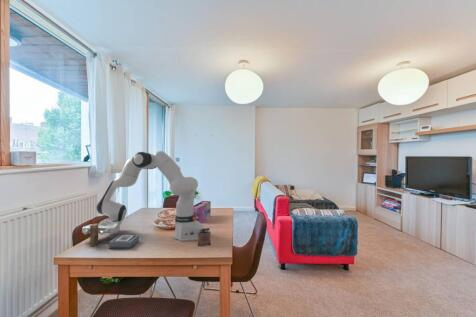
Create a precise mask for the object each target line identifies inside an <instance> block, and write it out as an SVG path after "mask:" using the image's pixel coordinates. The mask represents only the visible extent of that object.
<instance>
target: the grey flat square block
mask: <svg viewBox="0 0 476 317" xmlns="http://www.w3.org/2000/svg"><path fill="white" fill-rule="evenodd" d="M139 242H140V234H118V235H117V236H115V237H114V238H112V239H111V240H109V242H108V249H109V250H131V249H132V248H133V247H134V246H135V245H137V243H139Z"/></svg>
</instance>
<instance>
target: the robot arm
mask: <svg viewBox="0 0 476 317" xmlns="http://www.w3.org/2000/svg"><path fill="white" fill-rule="evenodd" d="M153 169H158V170H159V171H160V173H161V174H162V175H163V176H164V177H165V178H166V180H167V181H168V183H169V186H170V187H169V188H170V192H171V193H172V195H174V196H178V200H177V201H176V204H175V206H176V208H175V212H176V213H175V217H174V218H175V219H174V220H175V221H174V223H175V227H174V233H173V238H174V239H175V240H178V241H179V242H188V241H198V233H199V232H200V229H202V228H204V229H205V227H204V224H203V223H199V222H198V221H197V220H196V215H194V214H193V206H194V203H195V201H194V200H195V197H196V191H197V188H198V187H199V182H198V180H197V179H196V178H194V177H192V176H184V175H183V173H182V171H181V167H180V166H179V165H178V163H176V162H175V161H174V160H173V158H172V157H171V156H169V155H168V154H167V153H166V152H165V151H162V150H160V151H159V150H158V151H156V152H155V153H154V154H152V153H149V152H145V151H138V152H135V153H134V155H133V156H132V158H129V159H127V160H126V161H125V163H124V165H123V167H122V170H121V173H120V174H119V175H118V176H117V177H114V179H112V181H111V182H110V183H109V186H108V187H107V189H106V191H105V192H104V194H103V196H102V197H101V199H100V200H99V201H98V203H97V204H96V207H95V208H96V211H97V213H98V214H100V215H106V216H108V217H107V218H105V219H103V220H101V221H100V222H99V223H97V224H98V234H99V235H107V234H116V233H118V232H120V230H121V229H120V228H121V225H122V224H123V223H124V219H125V218H126V215H127V213H128V212H127V206H126V205H125V204H122V203H119V202H116V201H113V200H111V199H112V197H113V195H114V194H115V191H117V189H118V188H127V187H132V186H134V185H135V184H137V181H138V178H139V175H140V172H141V171H142V170H153ZM90 225H92V223H91V224H87V225H84V226H83V227H82V229H81V230H82V231H81V232H82V233H83V234H84V235H88V234H90Z"/></svg>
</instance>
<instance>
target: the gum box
mask: <svg viewBox="0 0 476 317" xmlns="http://www.w3.org/2000/svg"><path fill="white" fill-rule="evenodd" d="M211 203H212V202H211V201H210V200H209V201H208V200H202V201H200V202H198V203H196V204H193V214H194V215H196V220H197V221H198V222H199V223H201V224H203V223H205V221H207V220H208V219H209V218H211V210H212V209H211V208H212V207H211V206H212V204H211Z"/></svg>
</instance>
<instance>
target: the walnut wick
mask: <svg viewBox="0 0 476 317" xmlns="http://www.w3.org/2000/svg"><path fill="white" fill-rule="evenodd" d="M91 224H92V223H91ZM91 224H89V225H90V233H89V246H90V247H95V246H97V245H98V244H99V233H98V224H99V223H93V224H92V225H91Z"/></svg>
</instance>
